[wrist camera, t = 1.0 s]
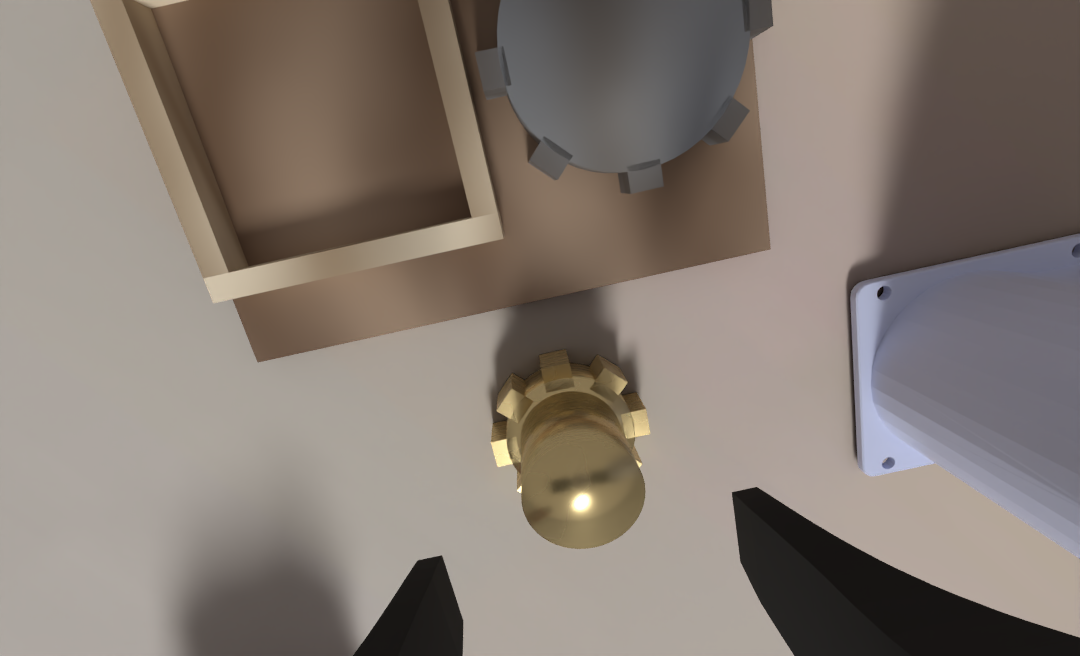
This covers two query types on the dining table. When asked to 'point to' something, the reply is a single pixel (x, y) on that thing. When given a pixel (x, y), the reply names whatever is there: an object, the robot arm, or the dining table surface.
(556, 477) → the brass gear
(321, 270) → the gear board
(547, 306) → the dining table surface
